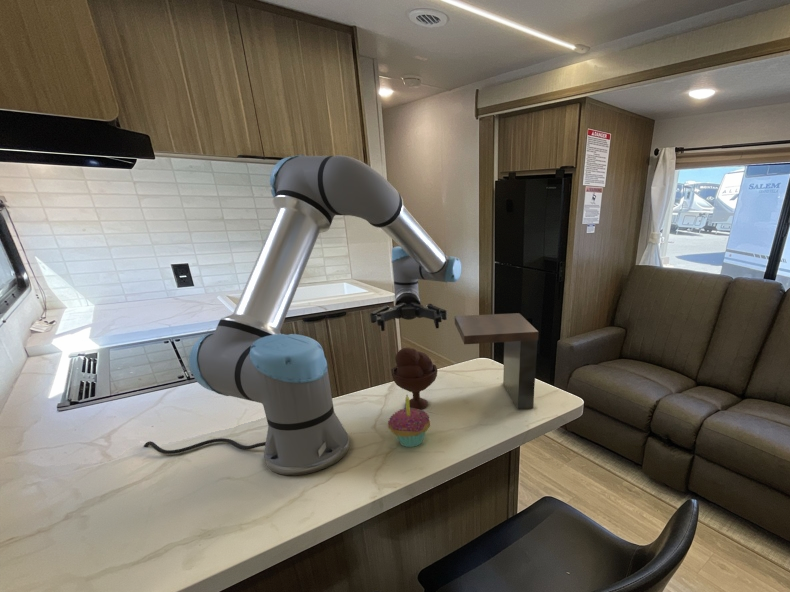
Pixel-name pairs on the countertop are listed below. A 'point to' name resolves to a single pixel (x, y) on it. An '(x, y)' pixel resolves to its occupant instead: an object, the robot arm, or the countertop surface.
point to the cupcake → (409, 425)
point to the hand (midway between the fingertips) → (410, 324)
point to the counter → (507, 349)
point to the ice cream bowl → (414, 374)
